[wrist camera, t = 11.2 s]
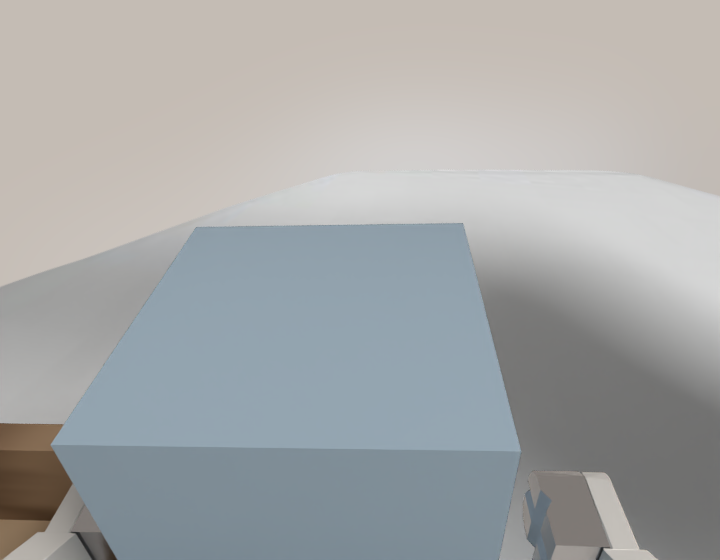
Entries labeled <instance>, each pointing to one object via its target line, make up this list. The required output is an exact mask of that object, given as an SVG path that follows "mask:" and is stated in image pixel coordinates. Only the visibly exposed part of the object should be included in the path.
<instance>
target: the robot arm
mask: <svg viewBox="0 0 720 560" xmlns="http://www.w3.org/2000/svg"><path fill="white" fill-rule="evenodd" d="M528 484H529V488H530V490H529V491H528V492H526V493H525V495H524V500H523V521H524V528H525V532H526V537H527V539H528V541H529V542H530V543H531V544H532V545H533V546H534V547H535V551H534V554H533V558H532V560H658V559H657V558H656V557H655V556H653V555H652V554H651V553H650V552H649V551H648V550H643V549H639V546H638V544H637V542H636V539H635V537H634V534H633V532H632V530H631V527H630V525H629V523H628V520H627V518H626V515H625V513H624V511H623V508H622V506H621V503H620V501H619V499H618V496H617V494H616V491H615V489H614V487H613V484H612V482H611V479H610V477H609V476H608V475H607V474H606V473H604V472H579V471H532V472H531V473H530V475H529V478H528ZM2 560H117V558H116V556H115V555H114V553H113V551H112V550H111V548H110V546H109V544H108V543H107V541H106V539H105V538H104V536H103V534H102V532H101V531H100V529H99V527H98V526H97V524H96V522H95V520H94V519H93V517H92V515H91V514H90V512H89V510H88V508H87V507H86V505H85V503H84V502H83V500H82V498H81V496H80V495H79V493H78V491H77V490H76V488H75V486H74V484H72V486H71V487H70V489H69V491H68V492H67V494H66V496H65V498H64V499H63V501H62V503H61V504H60V506H59V508H58V510H57V511H56V513H55V515H54V516H53V518H52V520H51V521H50V523H49V525H48V527H47V528H46V530H45V532H37V533H36V534H34V535H33V536H32V537H31V538H29V539H28V540H27V541H25V542H24V543H23V544H22V545H20V546H19V547H18V548H16V549H15V550H14V551H13V552H11V553H10V554H9V555H7V556H6V557H5V558H4V559H2Z"/></svg>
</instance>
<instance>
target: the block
mask: <svg viewBox="0 0 720 560" xmlns="http://www.w3.org/2000/svg"><path fill="white" fill-rule="evenodd" d="M51 447H52V448H53V450H54V452H55V454H56V455H57V457H58V459H59V460H60V462H61V464H62V466H63V467H64V469H65V471H66V472H67V474H68V476H69V478H70V479H71V481H72V483H73V484H74V486H75V488H76V490H77V491H78V493H79V495H80V496H81V498H82V500H83V502H84V503H85V505H86V507H87V508H88V510H89V512H90V514H91V515H92V517H93V519H94V520H95V522H96V524H97V526H98V527H99V529H100V531H101V532H102V534H103V536H104V538H105V539H106V541H107V543H108V544H109V546H110V548H111V550H112V551H113V553H114V555H115V556H116V558H117V560H499V556H500V551H501V546H502V541H503V537H504V532H505V527H506V522H507V517H508V513H509V508H510V503H511V498H512V493H513V489H514V484H515V479H516V474H517V469H518V465H519V460H520V455H521V448H520V445H519V441H518V437H517V433H516V429H515V425H514V421H513V417H512V413H511V409H510V405H509V401H508V398H507V394H506V390H505V386H504V382H503V378H502V374H501V370H500V366H499V362H498V358H497V354H496V351H495V347H494V343H493V339H492V335H491V331H490V327H489V323H488V319H487V315H486V311H485V307H484V304H483V300H482V296H481V292H480V288H479V284H478V280H477V276H476V272H475V268H474V264H473V260H472V257H471V253H470V249H469V245H468V241H467V237H466V233H465V229H464V225H463V223H447V224H377V225H307V226H238V227H196V228H195V230H194V231H193V233H192V234H191V236H190V237H189V239H188V240H187V242H186V243H185V245H184V246H183V248H182V249H181V251H180V252H179V254H178V255H177V257H176V258H175V260H174V261H173V263H172V264H171V266H170V267H169V269H168V270H167V272H166V273H165V275H164V276H163V278H162V279H161V281H160V282H159V284H158V285H157V287H156V288H155V290H154V291H153V293H152V294H151V296H150V297H149V298H148V300H147V301H146V303H145V304H144V306H143V307H142V309H141V310H140V312H139V313H138V315H137V316H136V318H135V319H134V321H133V322H132V324H131V325H130V327H129V328H128V330H127V331H126V333H125V334H124V336H123V337H122V339H121V340H120V342H119V343H118V345H117V346H116V348H115V349H114V351H113V352H112V354H111V355H110V357H109V358H108V360H107V361H106V363H105V364H104V366H103V367H102V369H101V370H100V372H99V373H98V375H97V376H96V378H95V379H94V381H93V382H92V384H91V385H90V387H89V388H88V389H87V391H86V392H85V394H84V395H83V397H82V398H81V400H80V401H79V403H78V404H77V406H76V407H75V409H74V410H73V412H72V413H71V415H70V416H69V418H68V419H67V421H66V422H65V424H64V425H63V427H62V428H61V430H60V431H59V433H58V434H57V436H56V437H55V439H54V440H53V442H52V443H51Z"/></svg>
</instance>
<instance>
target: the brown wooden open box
mask: <svg viewBox="0 0 720 560" xmlns="http://www.w3.org/2000/svg"><path fill="white" fill-rule="evenodd" d="M63 425H64V424H5V423H0V560H2V559H4V558H5V557H6V556H7V555H9V554H10V553H11V552H13V551H14V550H15V549H16V548H18V547H19V546H20V545H22V544H23V543H24V542H25V541H27V540H28V539H29V538H31V537H32V536H33V535H34V534H36V533H37V532H45V530H46V528H47V527H48V525H49V523H50V521H51V520H52V518H53V516H54V515H55V513H56V511H57V510H58V508H59V506H60V504H61V503H62V501H63V499H64V498H65V496H66V494H67V492H68V491H69V489H70V487H71V486H72V484H73V483H72V481H71V479H70V478H69V476H68V474H67V472H66V471H65V469H64V467H63V466H62V464H61V462H60V460H59V459H58V457H57V455H56V454H55V452H54V450H53V448H52V447H51V443H52V442H53V440H54V439H55V437H56V436H57V434H58V433H59V431H60V430H61V428H62V427H63Z"/></svg>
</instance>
